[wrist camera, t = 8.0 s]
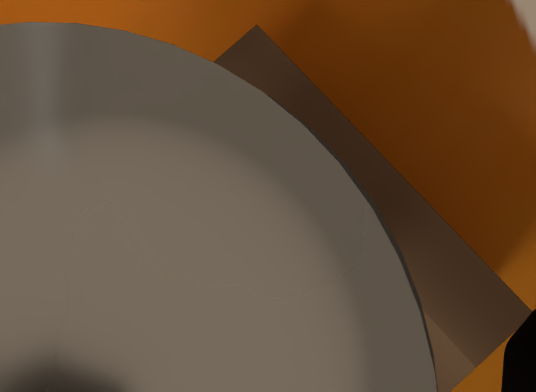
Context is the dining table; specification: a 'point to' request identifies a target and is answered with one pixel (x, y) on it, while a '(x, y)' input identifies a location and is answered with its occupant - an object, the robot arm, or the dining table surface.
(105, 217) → the silver metal can
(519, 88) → the dining table surface
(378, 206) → the socket block
